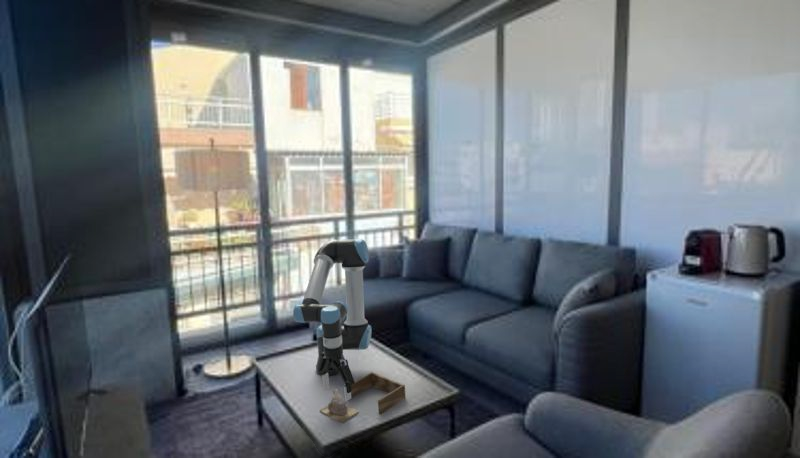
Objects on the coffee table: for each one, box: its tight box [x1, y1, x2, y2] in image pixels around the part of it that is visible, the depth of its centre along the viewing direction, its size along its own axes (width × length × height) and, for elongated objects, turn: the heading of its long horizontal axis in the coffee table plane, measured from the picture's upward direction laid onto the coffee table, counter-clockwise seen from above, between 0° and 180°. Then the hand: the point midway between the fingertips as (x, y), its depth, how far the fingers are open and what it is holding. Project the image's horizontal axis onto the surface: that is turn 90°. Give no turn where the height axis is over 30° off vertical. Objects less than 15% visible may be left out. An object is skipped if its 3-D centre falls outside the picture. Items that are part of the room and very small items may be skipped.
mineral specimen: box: [327, 388, 348, 415], centre depth 181 cm, size 13×7×6 cm, turn 25°
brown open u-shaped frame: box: [351, 371, 406, 415], centre depth 190 cm, size 20×16×6 cm
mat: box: [319, 405, 360, 424], centre depth 181 cm, size 14×9×1 cm, turn 49°
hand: (337, 393), depth 180 cm, fingers open, 13 cm apart
